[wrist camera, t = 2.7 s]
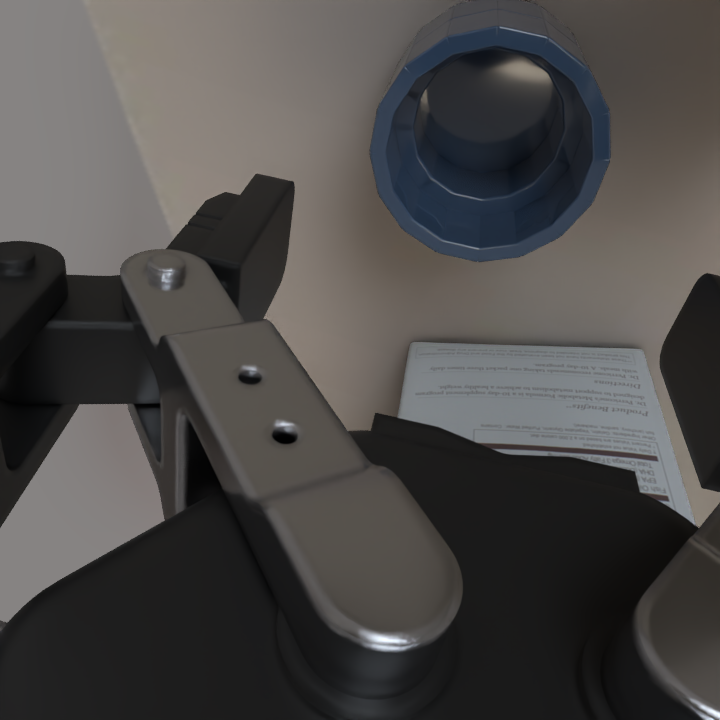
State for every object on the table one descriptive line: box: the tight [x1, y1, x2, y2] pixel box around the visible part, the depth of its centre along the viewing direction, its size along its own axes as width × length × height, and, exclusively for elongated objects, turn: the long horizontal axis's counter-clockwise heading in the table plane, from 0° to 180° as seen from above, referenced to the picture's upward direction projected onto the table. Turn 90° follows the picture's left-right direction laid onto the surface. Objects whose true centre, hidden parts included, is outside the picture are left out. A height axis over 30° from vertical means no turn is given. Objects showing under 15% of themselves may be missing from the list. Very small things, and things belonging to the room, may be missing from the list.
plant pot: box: [370, 0, 611, 262], centre depth 20 cm, size 6×6×5 cm
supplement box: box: [398, 342, 696, 526], centre depth 23 cm, size 10×9×17 cm
